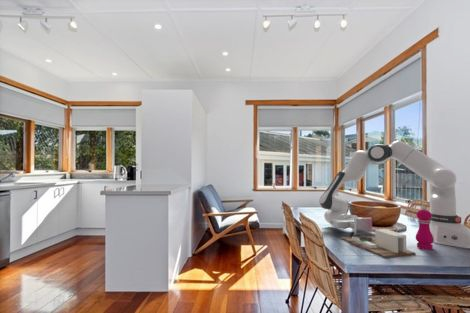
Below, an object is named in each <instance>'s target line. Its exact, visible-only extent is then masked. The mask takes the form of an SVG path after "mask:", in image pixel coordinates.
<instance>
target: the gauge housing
mask: <svg viewBox="0 0 470 313" xmlns="http://www.w3.org/2000/svg"><path fill="white" fill-rule="evenodd" d="M375 233H376V245H377V246H379V247H382V248H384V249H387V250H389V251H392V252H394V253H398V250H399V251H402V252H407V251H406V249H407V235H406V234H405V233H404V234H403V233H400V232H396V231H394V230H391V229H387V228H383V229H382V228H381V229H375Z"/></svg>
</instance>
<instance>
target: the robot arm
mask: <svg viewBox="0 0 470 313" xmlns="http://www.w3.org/2000/svg"><path fill="white" fill-rule="evenodd" d="M389 159H392V160H395V161H397V162H398V163H400V164H401V165H403V166H404V167H406V168H407V169H409V170H410V171H411V172H413V173H415V174H416V175H418V176H419V177H420V178H421V179H423V180H425V181H426V182H428V183H429V212H430V213H431V215H432V217H431V219H430V224H429V227H430V231H431V233H432V235H433V238H434V241H433V243H435V244H438V245H444V246H450V247H455V248H456V247H457V248H462V249H470V228H469V227H467V226H466V225H464V224H463V223H462V216H458V215H457V198H456V187H455V186H456V185H455V184H456V182H457V175H456V173H455V172H454V171H452V169H450V168H448V167H446V166H445V165H443V164H442V163H440V162H438V161H437V160H435V159H433V158H432V157H430V156H428V155H426V154H425V153H423V152H422V151H421V150H419V149H418V148H415V147H414V146H413V145H410V144H408V143H407V142H403V141H401V140H395V141H392V142H391V143H390V144H382V143H381V144H380V143H377V144H376V143H375V144H373V145H371V146H370V147H369V148H368V150H367V151H364V150H356V151H355V152H354V153H353V155H352V156H351V158H349V161H348V163H347V165H346V167H345V168H343V169H342V170H341V171H339V172H337V173H336V175H335V177H333V179H332V180H331V182H330V184H329V185H328V187H327V188H326V190H325V191H324V192H323V193H322V194H321V196H320V197H319V205H320V206H321V208H322V209H324V210H326V211H325V212H324V216H323V217H324V220H325V221H326V222H328V224H330V225H332V226H333V227H335V228H336V229H344V230H345V229H348V228H354V218H361V217H359V216H358V215H354V214H348V213H349V211H350V204H349V202H348V200H347V199H346V198H342V197H341V196H338V195H335V194H336V193H337V191H338V190H339V188H340V187H341V185H343V184H344V183H351V182H352V183H354V182H358V181H360V180H362V179H363V177H364V175H365V174H366V172H367V169H368V168H369V166H370V165H371V164H377V165H378V164H379V165H382V164H385V163H386V162H388V161H389Z"/></svg>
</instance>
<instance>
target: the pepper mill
mask: <svg viewBox="0 0 470 313" xmlns="http://www.w3.org/2000/svg"><path fill="white" fill-rule="evenodd" d="M416 217H417V218H418V220H417V222H418V230H417V232H416V235H415V241H416V247H417V248H418V249H420V250H421V249H422V250H427V251H429V250H430V251H431V250H433V243H434V242H433V241H434V238H433V235H432V233H431V231H430V219H431V217H432V215H431V213H430V210H427V208H426V207H425V206H421V209H419V210H417V212H416Z"/></svg>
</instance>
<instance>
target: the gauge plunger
mask: <svg viewBox="0 0 470 313" xmlns="http://www.w3.org/2000/svg"><path fill="white" fill-rule="evenodd" d="M353 233H354V234H352V237H358V238H359V236H366V237H373V238H376V232H375V231H373V218H372V217H360V218H354V227H353Z"/></svg>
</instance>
